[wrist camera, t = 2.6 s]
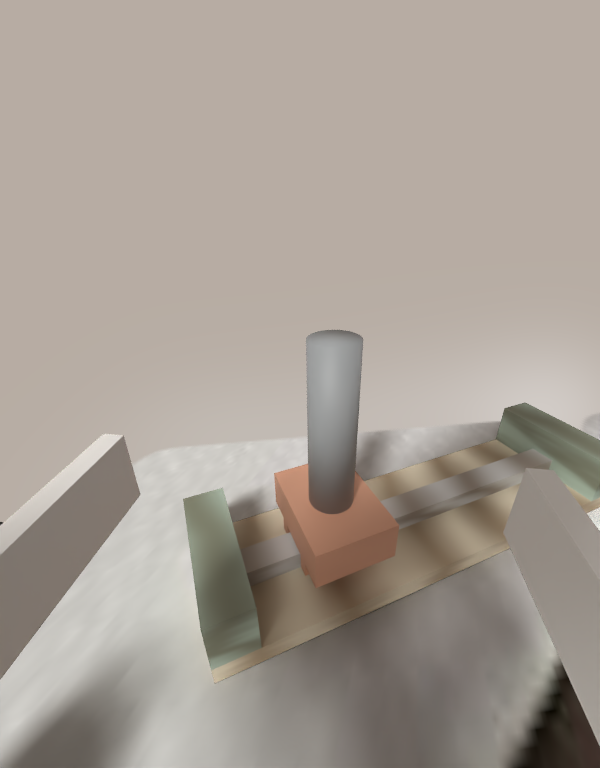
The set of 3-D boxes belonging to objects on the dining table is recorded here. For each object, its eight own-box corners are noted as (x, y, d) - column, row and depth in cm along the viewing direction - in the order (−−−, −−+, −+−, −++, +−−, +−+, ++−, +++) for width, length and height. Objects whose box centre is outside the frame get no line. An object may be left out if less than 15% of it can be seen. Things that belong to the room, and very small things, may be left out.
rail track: (512, 443, 41) (525, 402, 38) (607, 503, 32) (631, 456, 30) (194, 548, 29) (183, 499, 27) (214, 683, 21) (200, 630, 18)
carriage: (340, 491, 31) (347, 314, 24) (393, 567, 25) (424, 354, 17) (277, 512, 29) (263, 326, 22) (315, 599, 23) (314, 376, 16)
